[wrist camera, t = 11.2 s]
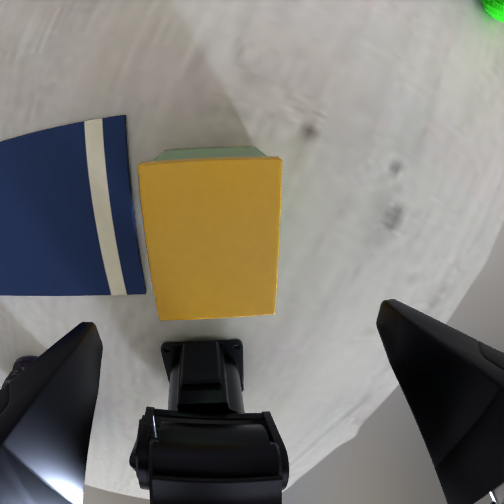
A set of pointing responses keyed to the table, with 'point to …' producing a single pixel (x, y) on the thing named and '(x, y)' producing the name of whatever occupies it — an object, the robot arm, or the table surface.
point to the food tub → (212, 231)
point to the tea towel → (68, 213)
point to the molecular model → (494, 8)
